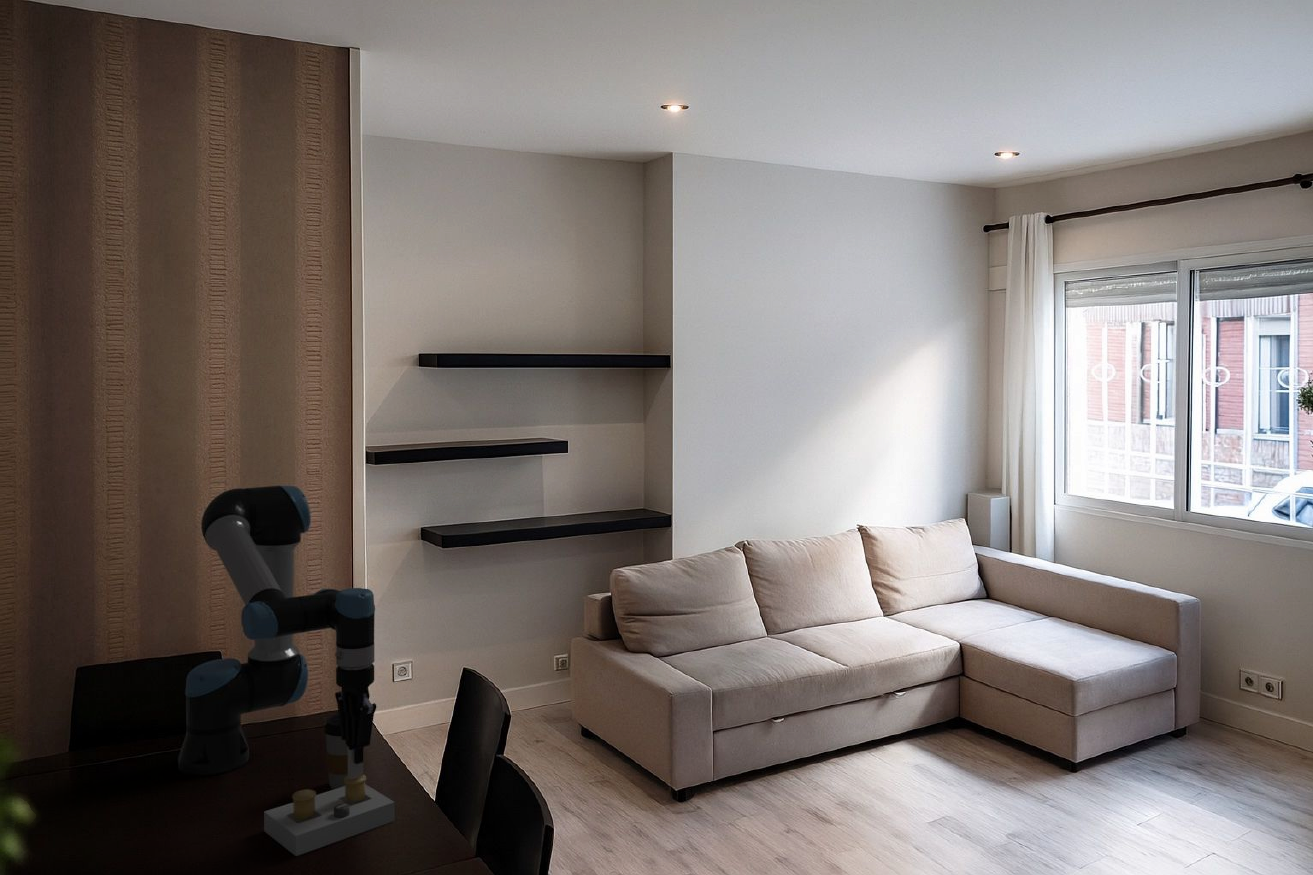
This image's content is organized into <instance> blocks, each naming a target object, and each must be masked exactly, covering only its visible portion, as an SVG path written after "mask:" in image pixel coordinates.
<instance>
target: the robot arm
mask: <svg viewBox="0 0 1313 875" xmlns="http://www.w3.org/2000/svg"><path fill="white" fill-rule="evenodd" d="M311 517H312V516H311V511H310V506H309V502H308V500H307V497H306V496H305V494H304V492H303V490H301V489H300V488H299V487H297V486H293V485H271V486H270V485H269V486H259V487H257V486H256V487H245V488H241V487H240V488H239V487H238V488H231V489H229V490H226V491H223V492H222V493H220V494H218V495H217V496H216V497H214V498H213V499H212V500H211V502H209V504H208V505H207V507H206V508H205V510H204V513H203V515H202V518H201V525H200V526H201V527H200V528H201V533H202V534H201V535H202V537H203V538H204V540H205V542H206V545H207V546H208V547H209V548H210V549H212V550H213V551H216V553H217V555H218V557H219V559H220V560H221V563H222V564H223V566H224V569H226V572H227V573H228V575H229V578H230V579H231V581H232V583H233V585H234V587H235V588H236V590H237V593H238V594H239V596H240V598H241V600H242V602H243V603H244V606H243V607H242V610H241V615H240V617H241V618H240V620H241V621H240V622H241V627H242V631H243V634H244V636H245V637H246V638H247V639H249V640H252V641H254V646H253V647H252V648H251V649H250V650H249V651H248V652H247V662H245V663H244V662H243V663H241V662H240V660H239V659H236V658H232V657H231V658H224V659H223V658H220V659H219V658H218V659H214V660H210V661H207V662H204V663H202V664H199V665H197V666H194V668H192V669H191V670H190V671H189V673H188V674H187V676H186V681H185V690H184V694H185V720H186V721H185V722H186V724H185V725H186V729H185V730H186V733H185V737H184V740H183V743H182V745H181V748H180V751H179V755H178V759H177V762H178V763H177V766H178V767H177V768H178V770H179V771H180V772H181V773H184V774H185V775H186V774H187V775H191V776H209V775H210V776H212V775H217V774H222V773H225V772H230V771H234V770H236V769H238V768H240V767H242V766H244V765H246V763H247V762H248V761H249V759H250V747H249V745H248V742H247V739H246V736H245V735H244V730H243V728H242V719H241V718H242V715H244V714H248V713H253V712H258V711H261V710H267V709H271V708H277V707H284V706H286V705H288V704H293V703H295V702H298V701H300V699H301V698H302V697H303V695H304V694H305V693H306V690H307V686H308V681H309V680H308V679H309V670H308V669H309V668H307V667H308V663H307V659H306V657H305V656H304V655H303V654H301V653H300V650H299V648H298V647H297V646H296V645H295V644H294V643H293V641H294V640H293V638H294V637H293V635H295V634H300V633H310V632H314V631H321V630H327V629H332V630H334V631H335V645H336V652H335V654H334V656H335V658H336V659H335V660H336V663H335V664H336V665H337V667H336V669H335V682H336V685H337V686H338V687H339V688H341V690H340V691H337V692H335V693H334V696H335V701H336V703H337V710H338V711H337V713H338V715H339V722H340V730H341V738H342V740H345V741H346V745H347V746H348V778H349V779H351V780H352V779H356V778H359V777H362V776H363V775H364V748H365V747H368V746H370V745H371V738H372V732H373V724H374V717H375V716H374V715H375V712H376V710H377V704H376V702H375V703H371V701H370V691H369V687H370V686H371V685H372V684H374V682H375V664H373V663H374V662H375V611H376V605H375V595H374V593H373V591H372V590H371V589H369V588H362V587H352V588H345V589H341V590H339V589H338V590H337V589H336V588H335V589H334V588H322V589H320V590H317V591H316V592H315V593H313V594H306V595H301V596H300V595H299V596H294V572H295V571H294V567H295V565H294V564H295V562H294V561H295V557H294V556H295V548H296V547H297V546H298V545H299V544H300V543H301V541H302V540H301V538H302V537H301V535H302V534H305V533H306V532H308V531H309V529H310V526H311V523H312V522H311V519H312V518H311Z"/></svg>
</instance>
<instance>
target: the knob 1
mask: <svg viewBox="0 0 1313 875" xmlns="http://www.w3.org/2000/svg"><path fill="white" fill-rule="evenodd" d="M316 795H317V792H316V791H315V790H314V789H301V790H298V791H295V792H294V793H293V794H292V797H291V798H292V800H293V802H292V803H293V816H294V817H295V818H299V819H302V818H308V817H311V816H313V815H314V814H315V796H316Z"/></svg>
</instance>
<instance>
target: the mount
mask: <svg viewBox="0 0 1313 875" xmlns="http://www.w3.org/2000/svg"><path fill="white" fill-rule="evenodd" d="M263 814H264V815H263V817H264V818H263V821H264V822H263V831H264V832H265V834H267V835H268V836H270V837H271V838H273V839H274V840H275V841H276V842H277V843H279V845H281V846H282V847H283V848H285V849H286V851H289V853H291V854H293V855H294V856H295V857H299V856H301V855H304V854H307V853H309V852H312V851H315V850H317V849H321V848H323V847H325V846H329V845H330V844H331V845H332V844H334V843H337V842H340V841H343V840H346V839H348V838H351V837H353V836H357V835H359V834H362V833H365V832H367V831H370V830H373V829H376V828H379V827H382V826H384V825H387V824H389V823H392V822H395V801H393V800H392V799H391V798H388V797H387V796H386V795H384V794H382V793H380V792H379V791H377V790H375V789H374V788H372V787H370V786H369V785H368V784H366V783H365V798H364V799H362V800H359V801H347V800H346V799H345V786H344V787H340V788H337V789H330V790H329V791H325V792H321V793H319V794H316V796H315V814H314V815H313V816H311V817H308V818H302V819H299V818H295V817H294V816H293V802H291V803H287V804H284V805H281V806H277V807H274V808H271V809H268V810H265V811H263Z"/></svg>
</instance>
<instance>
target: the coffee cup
mask: <svg viewBox="0 0 1313 875" xmlns="http://www.w3.org/2000/svg"><path fill="white" fill-rule="evenodd" d="M324 733H325V743H326V746H325V747H326V748H325V749H326V750H325V751H326V763H327V764H326V765H327V773H328V785H329V786H330V789H331V790H334V789H337V788H340V787H344V786H345V783H344V778H345V777H347V776H348V746H347V745H346V741H345V740H342V738H341V730H340V722H339V714H336V715H332V716H331V717H329V718H328V719H327V720H326V724H324Z"/></svg>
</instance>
